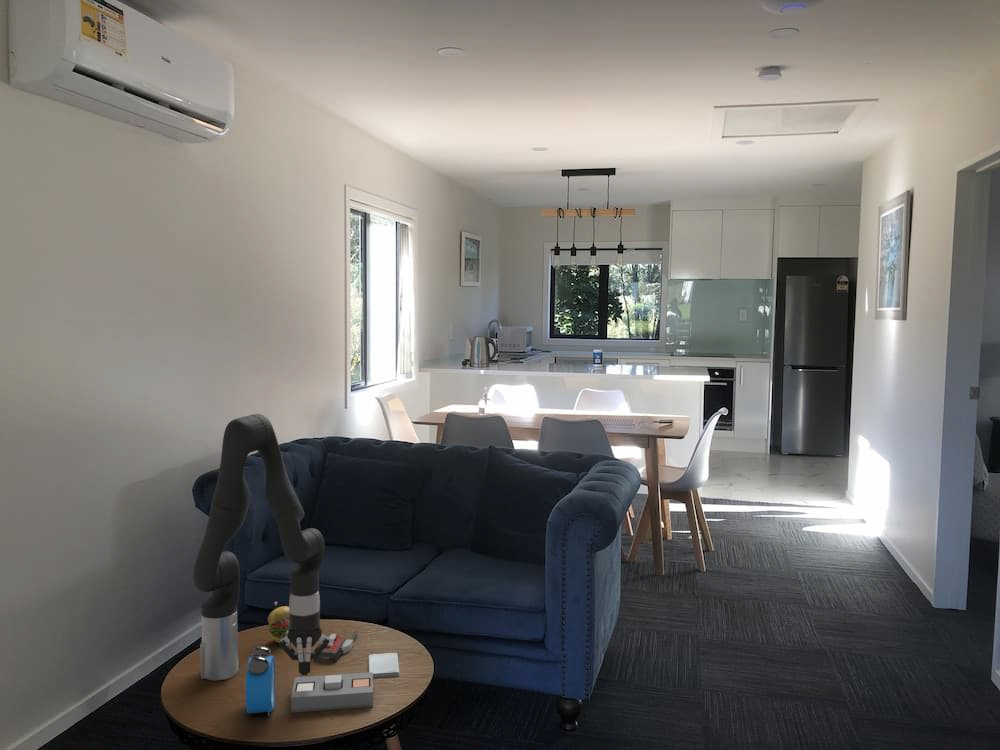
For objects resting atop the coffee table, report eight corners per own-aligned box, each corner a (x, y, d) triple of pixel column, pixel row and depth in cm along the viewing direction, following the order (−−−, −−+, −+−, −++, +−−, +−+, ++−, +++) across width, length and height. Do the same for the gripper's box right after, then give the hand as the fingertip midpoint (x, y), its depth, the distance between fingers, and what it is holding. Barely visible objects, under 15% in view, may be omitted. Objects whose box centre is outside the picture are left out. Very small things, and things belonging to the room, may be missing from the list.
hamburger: (284, 648, 235) (283, 608, 234) (263, 644, 238) (262, 605, 237) (298, 637, 243) (298, 599, 242) (277, 634, 245) (277, 596, 244)
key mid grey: (324, 694, 203) (324, 683, 203) (325, 687, 207) (325, 675, 207) (341, 693, 204) (340, 682, 203) (341, 685, 208) (341, 674, 207)
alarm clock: (271, 722, 194) (270, 662, 193) (245, 724, 193) (243, 664, 191) (275, 696, 207) (274, 640, 205) (250, 698, 206) (249, 641, 204)
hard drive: (399, 671, 218) (397, 652, 231) (368, 674, 217) (368, 654, 229) (399, 677, 219) (397, 657, 231) (368, 680, 217) (368, 659, 230)
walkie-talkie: (342, 665, 225) (360, 636, 245) (342, 650, 225) (360, 622, 245) (311, 664, 226) (332, 634, 246) (311, 648, 226) (332, 620, 246)
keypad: (291, 712, 199) (291, 697, 198) (295, 691, 209) (295, 677, 209) (373, 706, 202) (372, 692, 201) (372, 685, 213) (372, 672, 212)
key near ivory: (296, 702, 202) (296, 691, 202) (298, 695, 206) (297, 684, 206) (312, 701, 203) (312, 690, 202) (313, 694, 207) (313, 682, 206)
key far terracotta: (353, 698, 204) (352, 687, 204) (353, 691, 208) (353, 679, 208) (368, 697, 205) (368, 686, 205) (369, 689, 209) (368, 678, 209)
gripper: (275, 615, 198) (276, 682, 199) (330, 613, 200) (330, 679, 202) (279, 604, 205) (279, 668, 207) (331, 601, 207) (331, 665, 209)
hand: (304, 674), depth 204 cm, fingers closed
